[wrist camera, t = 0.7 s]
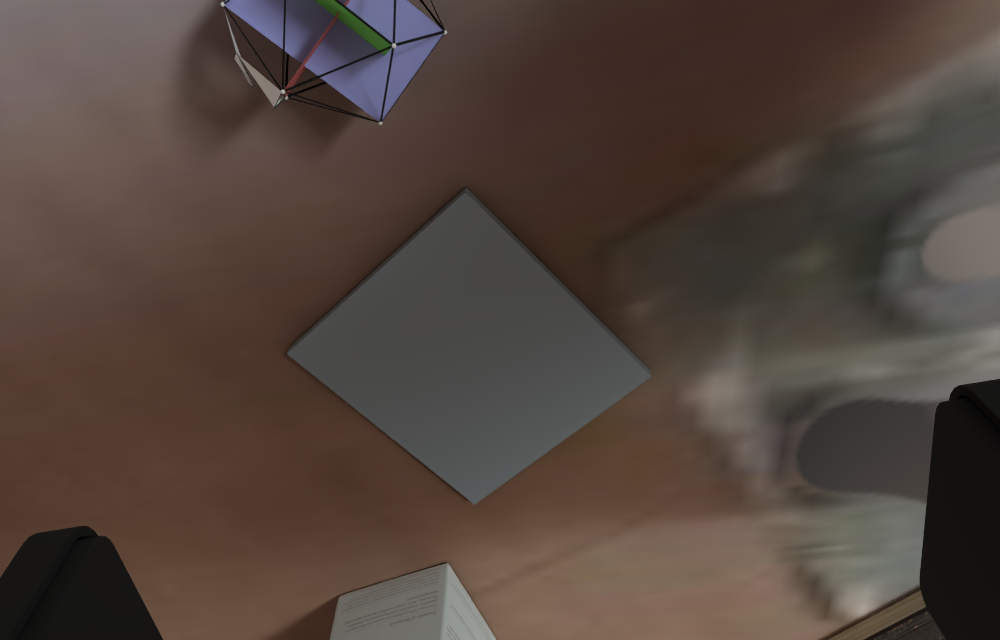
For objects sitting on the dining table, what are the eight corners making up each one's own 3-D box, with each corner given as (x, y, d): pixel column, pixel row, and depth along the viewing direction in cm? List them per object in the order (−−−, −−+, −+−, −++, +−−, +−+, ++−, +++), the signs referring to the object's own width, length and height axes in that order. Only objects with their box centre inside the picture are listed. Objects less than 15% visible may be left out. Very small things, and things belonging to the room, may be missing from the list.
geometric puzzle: (343, -185, 28) (214, -42, 24) (503, -45, 30) (407, 106, 26) (283, -51, 34) (172, 80, 30) (420, 58, 36) (332, 193, 32)
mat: (465, 187, 36) (465, 192, 36) (649, 370, 41) (651, 376, 40) (289, 347, 40) (286, 353, 40) (474, 497, 45) (474, 504, 44)
